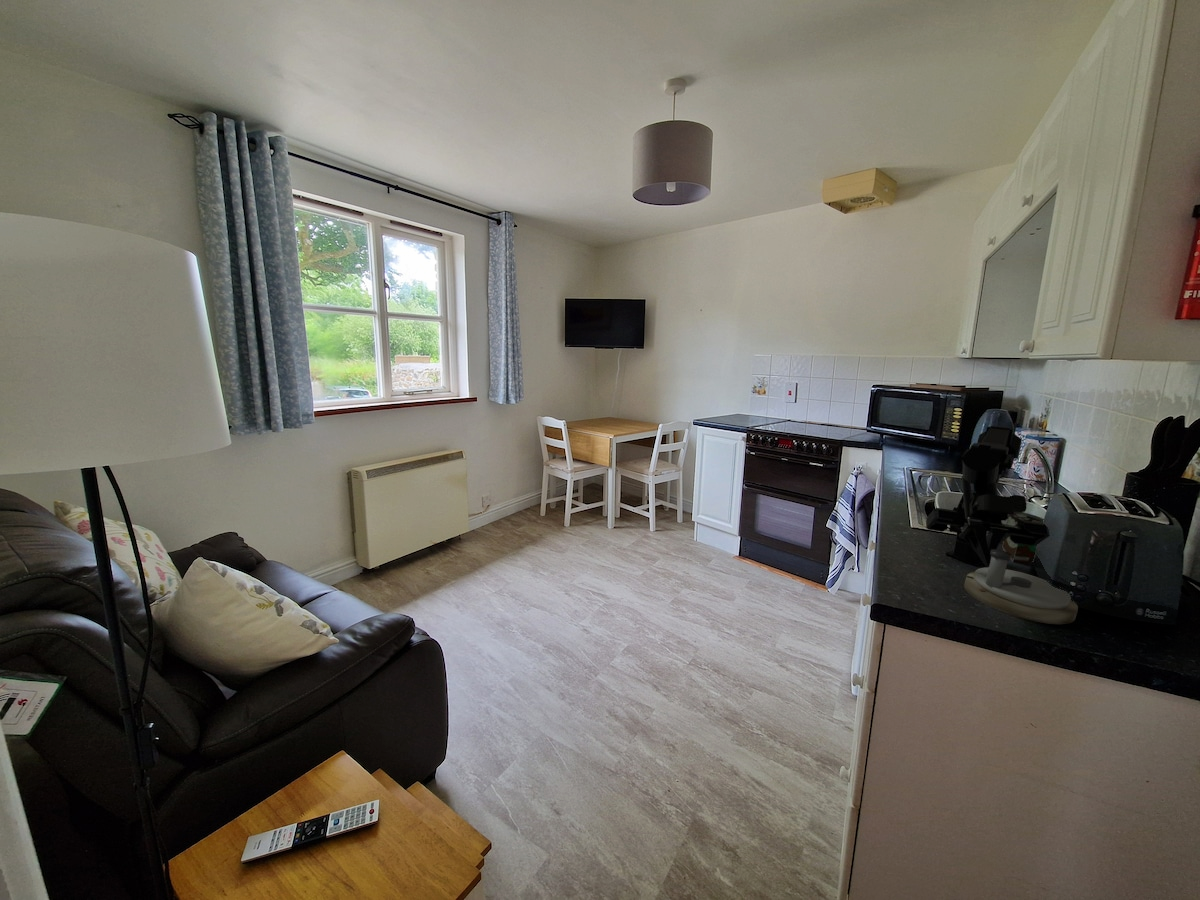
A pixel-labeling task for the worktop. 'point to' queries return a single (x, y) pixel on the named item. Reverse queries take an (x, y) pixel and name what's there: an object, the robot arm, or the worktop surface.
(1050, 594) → the dial
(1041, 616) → the dial base
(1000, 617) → the worktop surface
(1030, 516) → the food container
